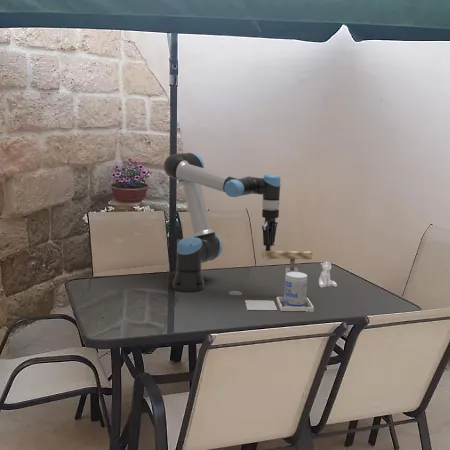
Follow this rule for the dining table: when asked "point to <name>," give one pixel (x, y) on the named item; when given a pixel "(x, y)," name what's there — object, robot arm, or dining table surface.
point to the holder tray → (310, 308)
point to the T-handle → (287, 255)
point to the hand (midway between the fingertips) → (268, 259)
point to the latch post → (290, 270)
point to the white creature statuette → (326, 276)
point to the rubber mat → (260, 305)
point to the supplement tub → (295, 289)
